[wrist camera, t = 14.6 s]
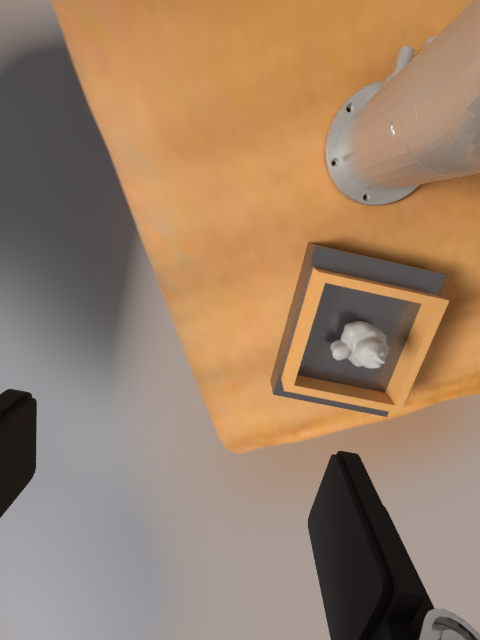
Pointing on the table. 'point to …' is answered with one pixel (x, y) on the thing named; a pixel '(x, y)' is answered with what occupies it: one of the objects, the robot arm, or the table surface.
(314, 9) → the table surface
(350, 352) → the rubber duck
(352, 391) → the wooden tray on slab
